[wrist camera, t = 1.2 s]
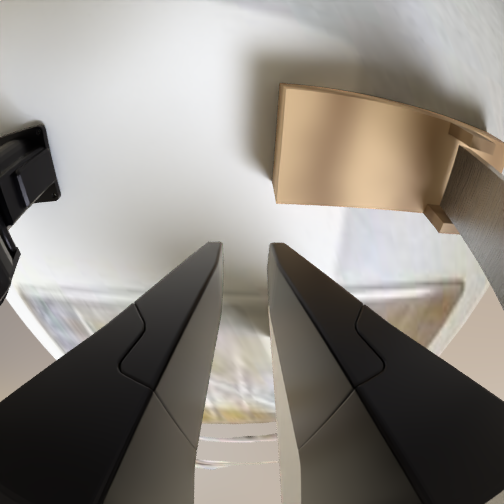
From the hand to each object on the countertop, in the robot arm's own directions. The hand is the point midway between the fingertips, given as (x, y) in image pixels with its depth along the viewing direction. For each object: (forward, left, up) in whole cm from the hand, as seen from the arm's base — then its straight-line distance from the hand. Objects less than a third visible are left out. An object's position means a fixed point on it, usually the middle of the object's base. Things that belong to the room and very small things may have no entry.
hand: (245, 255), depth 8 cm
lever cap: (+14, 0, -9) cm, 17 cm away
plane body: (+11, 0, -12) cm, 16 cm away
